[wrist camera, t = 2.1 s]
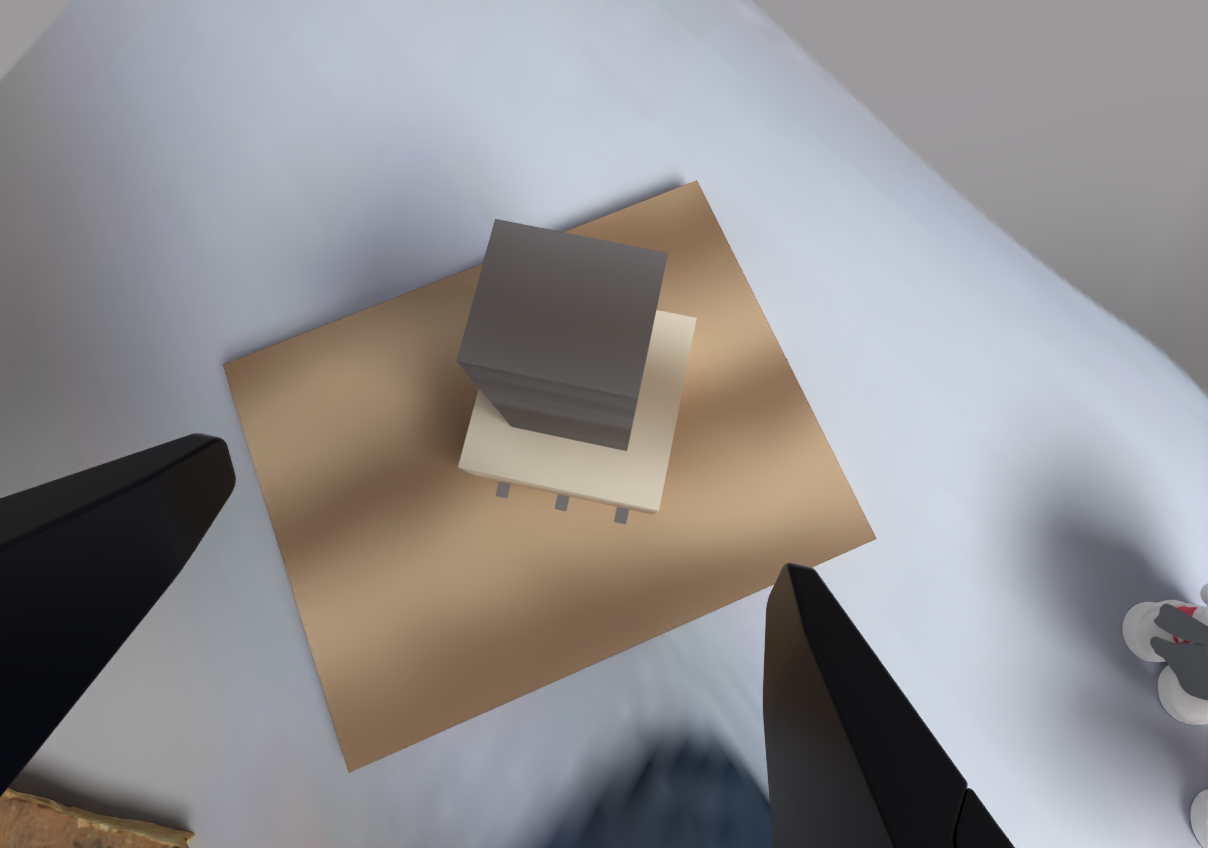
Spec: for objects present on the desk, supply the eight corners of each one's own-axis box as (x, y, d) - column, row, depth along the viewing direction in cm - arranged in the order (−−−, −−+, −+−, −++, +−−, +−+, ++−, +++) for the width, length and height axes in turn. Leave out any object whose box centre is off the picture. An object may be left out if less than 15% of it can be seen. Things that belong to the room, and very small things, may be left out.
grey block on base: (653, 514, 20) (688, 491, 11) (475, 476, 20) (370, 422, 11) (686, 343, 21) (744, 196, 12) (518, 309, 21) (453, 142, 12)
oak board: (866, 539, 20) (876, 538, 20) (359, 763, 19) (348, 773, 18) (693, 192, 23) (696, 180, 22) (236, 371, 22) (222, 364, 21)
